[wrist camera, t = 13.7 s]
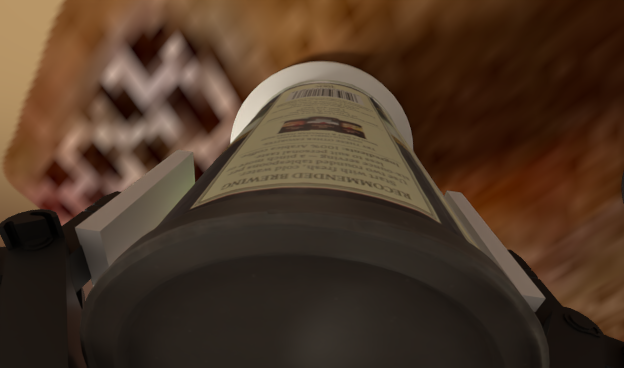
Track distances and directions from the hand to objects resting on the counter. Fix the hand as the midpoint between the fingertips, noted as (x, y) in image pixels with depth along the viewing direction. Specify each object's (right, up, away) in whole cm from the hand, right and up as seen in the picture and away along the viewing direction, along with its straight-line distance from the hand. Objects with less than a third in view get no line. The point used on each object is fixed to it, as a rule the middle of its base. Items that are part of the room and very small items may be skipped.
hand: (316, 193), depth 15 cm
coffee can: (0, +2, +4) cm, 5 cm away
